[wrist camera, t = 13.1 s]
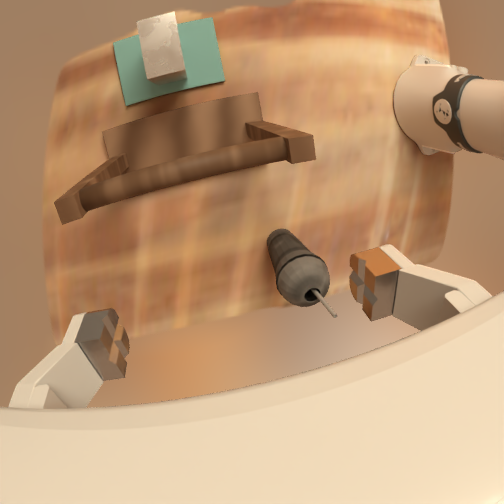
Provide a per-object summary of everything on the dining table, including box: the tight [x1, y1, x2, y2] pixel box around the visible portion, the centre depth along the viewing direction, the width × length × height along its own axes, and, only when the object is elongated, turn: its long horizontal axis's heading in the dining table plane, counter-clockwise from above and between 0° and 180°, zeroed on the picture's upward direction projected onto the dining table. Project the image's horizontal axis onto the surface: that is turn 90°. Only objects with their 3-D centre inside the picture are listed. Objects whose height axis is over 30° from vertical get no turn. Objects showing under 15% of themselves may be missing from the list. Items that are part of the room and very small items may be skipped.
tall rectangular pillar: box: [137, 12, 188, 86], centre depth 29 cm, size 4×7×11 cm, turn 9°
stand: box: [54, 92, 316, 225], centre depth 31 cm, size 22×10×22 cm, turn 100°
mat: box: [113, 18, 225, 106], centre depth 34 cm, size 14×10×1 cm
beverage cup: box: [267, 229, 337, 318], centre depth 42 cm, size 7×7×20 cm
